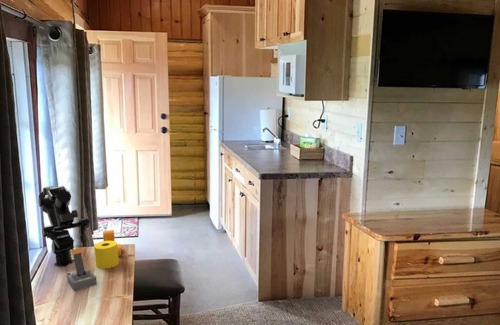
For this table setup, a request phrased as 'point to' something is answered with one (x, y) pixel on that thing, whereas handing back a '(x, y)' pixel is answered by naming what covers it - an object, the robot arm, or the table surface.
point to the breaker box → (81, 280)
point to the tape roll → (106, 254)
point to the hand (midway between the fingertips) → (71, 245)
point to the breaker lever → (78, 261)
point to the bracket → (111, 239)
